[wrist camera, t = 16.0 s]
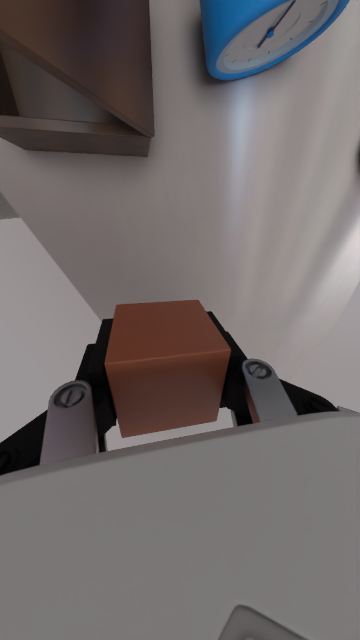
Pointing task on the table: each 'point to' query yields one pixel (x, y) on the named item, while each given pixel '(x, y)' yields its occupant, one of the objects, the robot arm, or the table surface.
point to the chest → (57, 114)
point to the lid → (89, 50)
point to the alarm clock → (260, 32)
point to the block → (165, 366)
